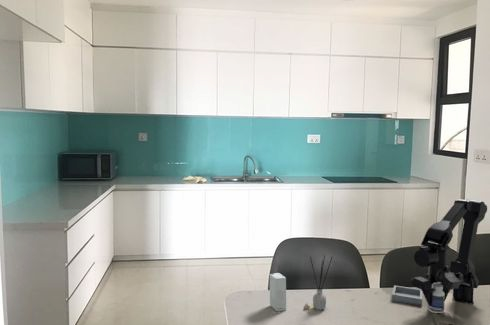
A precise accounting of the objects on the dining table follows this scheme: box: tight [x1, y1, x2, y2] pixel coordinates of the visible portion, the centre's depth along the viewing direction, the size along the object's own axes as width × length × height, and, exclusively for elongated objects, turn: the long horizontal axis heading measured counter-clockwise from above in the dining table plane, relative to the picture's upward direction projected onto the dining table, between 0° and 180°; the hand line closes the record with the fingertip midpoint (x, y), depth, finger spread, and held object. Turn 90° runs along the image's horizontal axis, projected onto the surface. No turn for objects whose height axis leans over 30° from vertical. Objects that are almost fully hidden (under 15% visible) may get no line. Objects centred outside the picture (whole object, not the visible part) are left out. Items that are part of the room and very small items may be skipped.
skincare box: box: [269, 272, 287, 312], centre depth 145 cm, size 6×4×12 cm
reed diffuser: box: [303, 254, 333, 310], centre depth 144 cm, size 10×7×20 cm
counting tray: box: [391, 284, 423, 307], centre depth 155 cm, size 11×11×2 cm
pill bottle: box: [427, 284, 446, 314], centre depth 144 cm, size 5×5×10 cm
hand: (436, 304), depth 144 cm, fingers open, 6 cm apart
